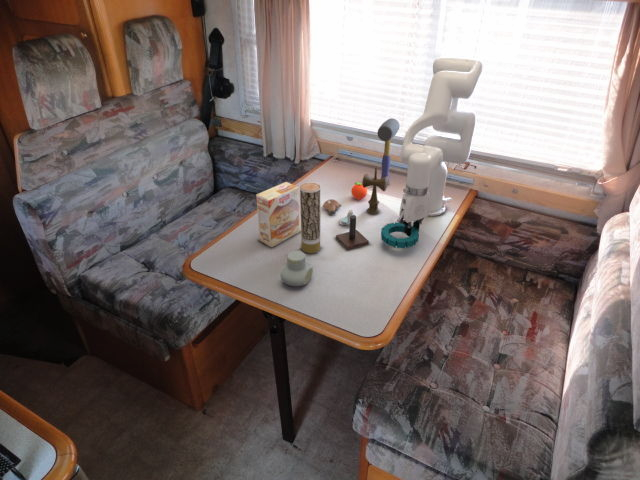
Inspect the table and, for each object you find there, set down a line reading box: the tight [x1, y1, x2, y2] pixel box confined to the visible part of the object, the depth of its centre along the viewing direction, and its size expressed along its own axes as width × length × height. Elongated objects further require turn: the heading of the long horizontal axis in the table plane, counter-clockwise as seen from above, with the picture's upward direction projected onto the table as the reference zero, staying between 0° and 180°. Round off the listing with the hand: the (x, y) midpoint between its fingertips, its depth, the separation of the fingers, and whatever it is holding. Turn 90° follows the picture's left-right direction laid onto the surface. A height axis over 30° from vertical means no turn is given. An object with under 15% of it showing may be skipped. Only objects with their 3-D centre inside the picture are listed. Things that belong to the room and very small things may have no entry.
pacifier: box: [338, 209, 358, 226], centre depth 177 cm, size 7×6×6 cm
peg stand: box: [335, 214, 370, 251], centre depth 164 cm, size 9×9×10 cm
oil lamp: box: [322, 198, 342, 216], centre depth 186 cm, size 9×4×8 cm
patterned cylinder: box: [299, 182, 321, 254], centre depth 156 cm, size 7×7×25 cm
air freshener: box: [279, 250, 314, 287], centre depth 144 cm, size 11×8×10 cm
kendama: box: [361, 167, 389, 215], centre depth 180 cm, size 6×10×20 cm, turn 69°
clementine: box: [350, 182, 368, 200], centre depth 195 cm, size 8×7×7 cm
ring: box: [380, 221, 420, 249], centre depth 161 cm, size 13×13×3 cm
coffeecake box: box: [255, 181, 300, 248], centre depth 164 cm, size 15×7×20 cm, turn 137°
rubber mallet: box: [376, 117, 401, 183], centre depth 201 cm, size 12×8×30 cm, turn 156°
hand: (411, 233), depth 163 cm, fingers closed on ring, 2 cm apart
